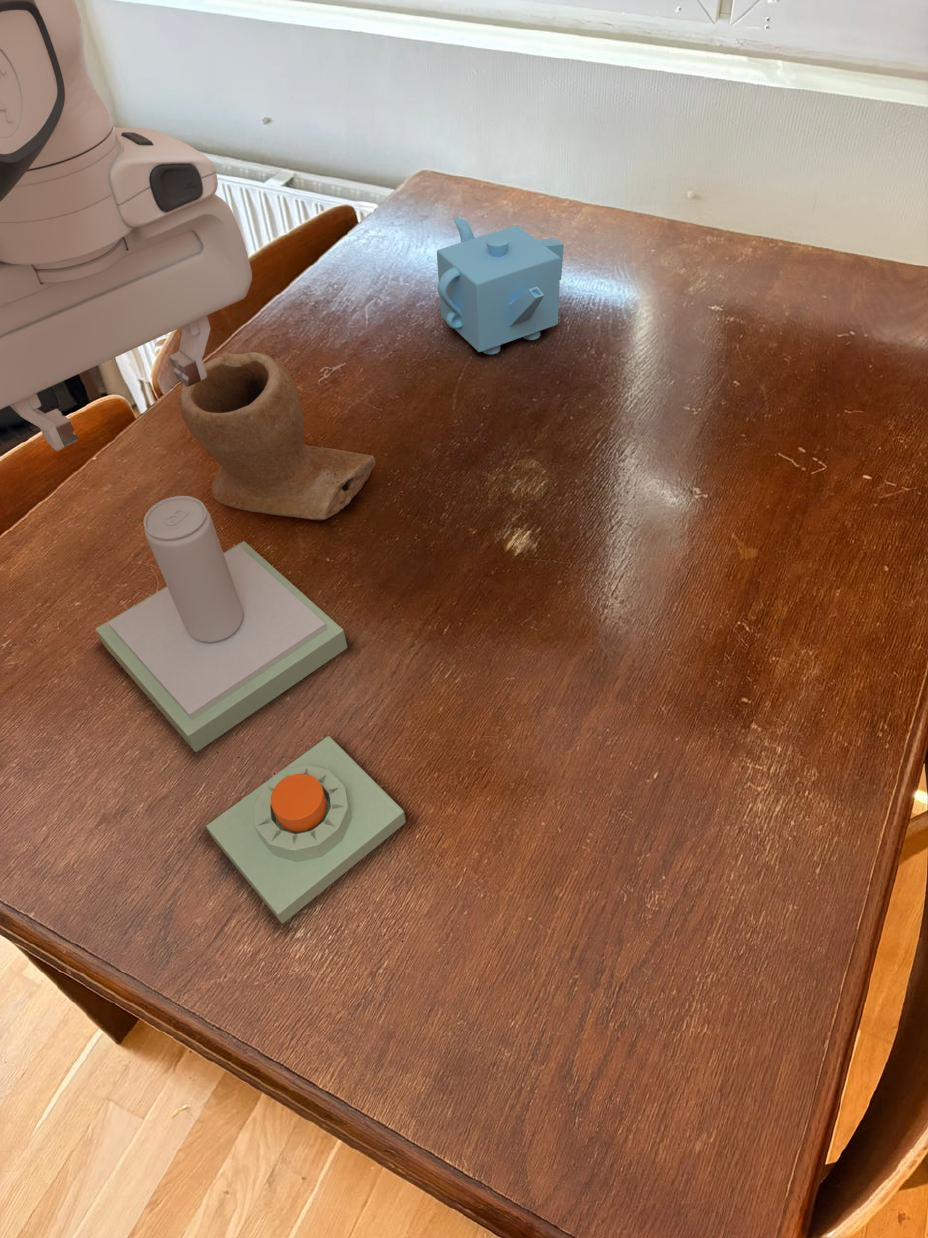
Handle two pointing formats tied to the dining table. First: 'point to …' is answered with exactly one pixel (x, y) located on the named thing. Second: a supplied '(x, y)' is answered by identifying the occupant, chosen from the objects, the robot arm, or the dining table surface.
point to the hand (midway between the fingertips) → (130, 410)
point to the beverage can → (194, 567)
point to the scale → (223, 650)
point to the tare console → (307, 831)
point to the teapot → (499, 286)
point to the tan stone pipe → (266, 442)
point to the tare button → (299, 802)
